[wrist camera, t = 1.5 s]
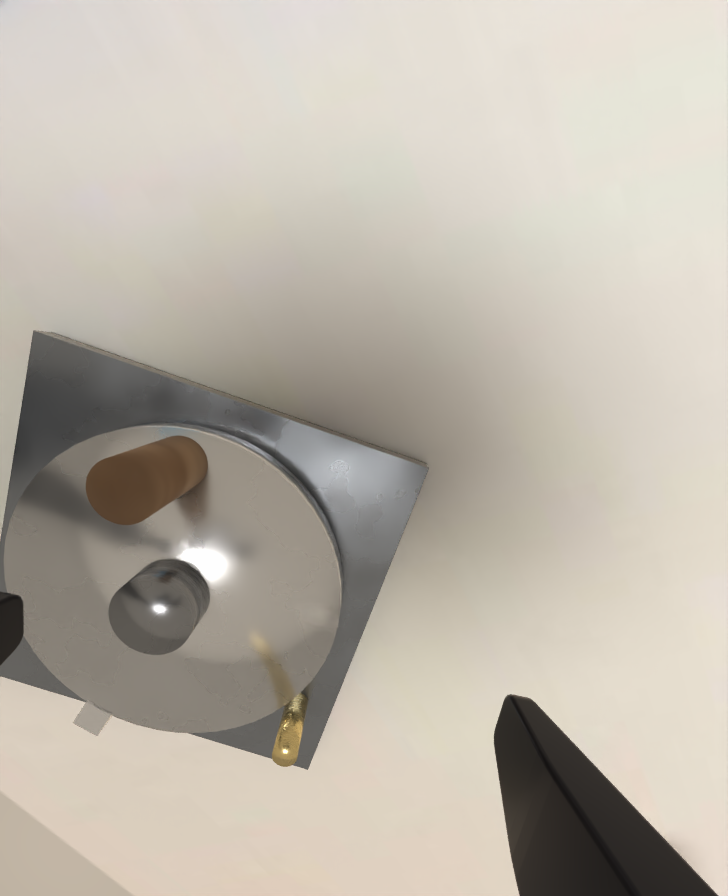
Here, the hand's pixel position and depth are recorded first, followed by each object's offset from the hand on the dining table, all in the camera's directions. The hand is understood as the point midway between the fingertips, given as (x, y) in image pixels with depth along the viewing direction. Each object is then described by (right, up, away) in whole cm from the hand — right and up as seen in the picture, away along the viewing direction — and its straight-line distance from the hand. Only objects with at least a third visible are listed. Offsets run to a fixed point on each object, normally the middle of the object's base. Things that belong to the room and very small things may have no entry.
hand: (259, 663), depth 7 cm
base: (-7, -3, +13) cm, 15 cm away
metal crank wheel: (-7, -3, +12) cm, 15 cm away
